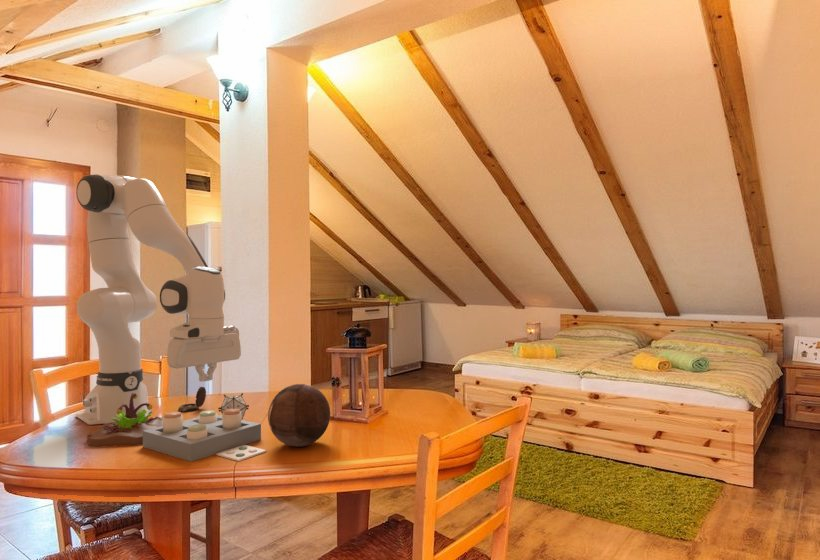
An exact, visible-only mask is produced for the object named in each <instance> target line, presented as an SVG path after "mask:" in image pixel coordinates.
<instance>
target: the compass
mask: <svg viewBox="0 0 820 560" xmlns="http://www.w3.org/2000/svg"><path fill="white" fill-rule="evenodd" d="M206 397H207V390H206V387H204V386H199V388H198V390H197V391H196V395H195V403H185V404H181V405H180V406H178V408H177V409H178V412H181V411H182V412H183V413H185V412H187V411H189V412H194V411H197V410H199V409H200V408H201V407H203V405H204V403H205V401H206ZM182 412H181V413H182Z"/></svg>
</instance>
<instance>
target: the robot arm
mask: <svg viewBox="0 0 820 560" xmlns="http://www.w3.org/2000/svg"><path fill="white" fill-rule="evenodd" d="M75 192H76V199H77V202H78V203H79V205H80V206H81V208H83V209H84V210H86V211H88V213H87V221H86V230H87V231H86V232H87V234H86V235H87V242H88V250H89V257H90V263H91V268H92V270H93V271H94V273H96V274H97V275H99V276H100V277H101V278H102V280H104V282H105V284H106V285H107V287H99V288H95V289H92V290H88V291H85V292H84V293H83V294H81V295H80V296H79V298H78V300H77V302H76V313H77V315H78V318H79V319H80V320H81V322H83V323H84V324H85V325H87V327H89V329H90V330H91V331H92V333H93V336H94V338H95V341H96V343H97V348H98V365H99V369H98V370H99V371H98V372H96V382H95V383H96V385H95V386H94V387H93V388H92V390H91V391H90V392H89V393H88V394H86V396H85V398H84V399H83V400H82V407H83V408H84V410H81V411H78V412H76V414H75V417H76V418H78V419H79V420H81V421H82V422H84V423H85V424H87V425H88V426H91V425H101V424H102V425H104V424H106V423H111V422H116V421H114V420H112V419H111V418H115V419H117V420H119V421H120V419H119V418H118V417H117V416H116V415H119V414H117V412H116V411H117V409H118V408H119V407H120V406H121V405H123V404H126V405H127V406H128V408H129V405H130V404H129V403H130V397H131V394H132V393H136V394H137V395H138V396H137V398H136V399H133V404H134V405H133V406H134V409H135V408H137V407H138V406H139V405H140V404H144V403H149V398H148V396H149V395H148V389H147V385H146V384H144V383H143V381H144V372H143V371H144V370H143V368H142V350H141V349H142V348H141V347H142V346H141V343H140V341H139V340H138V339H137V338H135V337H133V335H132V334H131V331H130V328H129V323H130V324H132V323H138V322H141V321H143V320H146V319H148V318H150V317H152V316H153V315H154V314H155V312H156V311H157V309H158V298H157V296H156V294H155V293H154V292H153V291H152V290H150V289H149V288H148V287H147V286H146V284H145V283H144V281H143V280H142V278H141V276H140V274H139V272H138V270H137V268H136V264H135V261H134V260H135V259H134V256H133V251H132V244H131V238H130V234H129V233H130V232H129V229H128V227H130V230H131V232H132V234H133V235H134V236H135V239H137V241H139V242H140V243H141V244H142V245H145V246H148V248H149V247H150V248H153V249H156V250H159V251H162V252H163V253H167V254H169V255H171V256H173V257H174V258H175V259H177V261H179V263H180V264H181V266H182V267H183V270H184V271H185V273H186V274H185V273H184V275H182V276H180V277H177V278H173V279H170V280H167V281H165V283H164V284H163V285H162V286H161V289H160V292H159V303H160V305H161V307H162V309H163V310H164V311H165V312H166V313H167V314H172V315H177V316H178V315H188V321H186V322H183V323H182V324H179V325H178V326H174V327H173V328H171V329H170V330H169V336H170V337H171V339H170V340H169V341H168V343H167V344H168V345H167V353H166V363H167V365H168V366H169V367H170V368H172V369H177V370H178V369H183V368H190V367H194V368H195V370H196V373H197V374H198V381H199V382H202V383H203V382H208V381H209V382H210V381H213V380H214V379H213V375H214V372H215V371H216V369H217V363H222V362H223V363H224V362H229V361H237V360H239V359H240V358H241V356H242V351H241V348H242V347H241V341H240V329H238V328H237V327H235V326H234V325H230V326H225V315H224V310H223V307H224V303H225V300H226V290H225V286H224V285H225V284H224V278H223V275H222V272H221V271H220V270H219V269H216V268H214V267H209V266H208V264H207V263H206V261H205V259H204V257H203V255H202V254H201V253H200V251H199V249H198V246H196V244H195V242H194V241H193V240H192V238H191V237H190V235H189V234H188V233H187V232H185V231H184V230H183V229H182V228H181V226H180V225H179V224H178V223H177V221H176V220H175V219H174V217H173V215H172V214H171V212H170V210H169V208H168V206H167V203H166V202H165V199H164V198H163V196H162V194H161V193H160V191H159V189H158V188H157V187H156V185H155V184H154V183H153V182H152V181H151V180H149V179H147V178H142V177H138V178H137V177H132V176H126V175H121V174H119V175H106V174H105V175H104V174H103V175H100V174H89V175H84V176H83V177H82V178H81V179H80V180H79V182H78V183H77V186H76V191H75ZM205 365H207V367H208V368H207V371H206V373H205V371H204V369H205ZM144 409H145V410H146V411H147V412H146V414H145V417H146V416H147V415H149V414H151V413H152V412H153V409H152V410H148V409H147V406H146V405H144V406H142V407H141V408H140V409H139V410H138V411H137V413H138V412H139V411H141V410H144ZM122 412H123V413H126V409H125V407H122ZM137 413H136V414H137Z"/></svg>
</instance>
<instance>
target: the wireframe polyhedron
mask: <svg viewBox="0 0 820 560" xmlns="http://www.w3.org/2000/svg"><path fill="white" fill-rule="evenodd" d="M243 396H244V393H243V392H242V393H241V394H240V395H227V394H223V397H224V399H223V402H222V403H221V406H219V407H218V408H217V409H218V412H219V413H221V414H222V413H224V412H223V411H224V410H227V409H240V411H241V420H244V416H245V413H246V410H249V407H250V405H249V404H246V402H245V399H244V398H243Z"/></svg>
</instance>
